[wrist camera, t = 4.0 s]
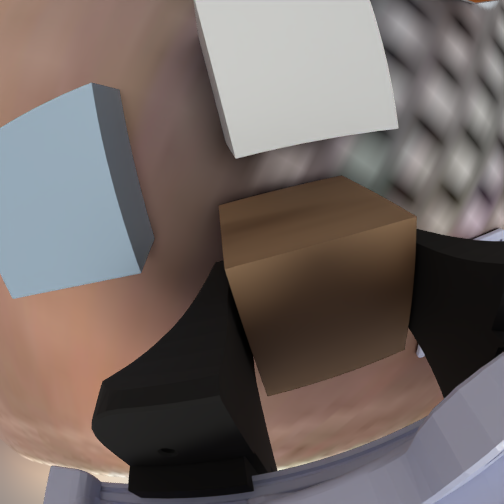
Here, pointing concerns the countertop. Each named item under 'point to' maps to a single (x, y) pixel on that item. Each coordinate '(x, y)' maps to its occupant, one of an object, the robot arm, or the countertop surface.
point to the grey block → (294, 71)
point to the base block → (70, 195)
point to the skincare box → (478, 1)
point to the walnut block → (319, 278)
